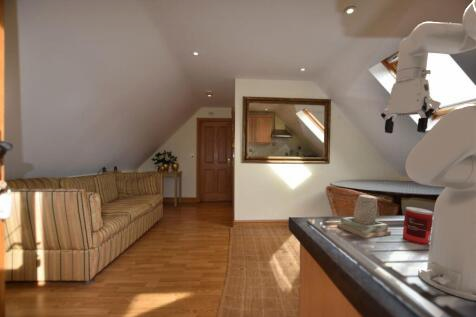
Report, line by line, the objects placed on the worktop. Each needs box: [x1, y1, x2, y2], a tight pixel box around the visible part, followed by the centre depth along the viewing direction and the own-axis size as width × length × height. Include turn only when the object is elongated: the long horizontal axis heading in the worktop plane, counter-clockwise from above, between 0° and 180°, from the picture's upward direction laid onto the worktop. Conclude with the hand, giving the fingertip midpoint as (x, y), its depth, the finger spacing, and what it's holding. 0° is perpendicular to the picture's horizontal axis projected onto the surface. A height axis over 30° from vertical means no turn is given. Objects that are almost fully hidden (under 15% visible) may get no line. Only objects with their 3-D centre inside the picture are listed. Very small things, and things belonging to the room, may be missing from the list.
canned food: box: [402, 206, 434, 246], centre depth 83 cm, size 8×8×11 cm
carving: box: [353, 194, 378, 225], centre depth 89 cm, size 6×8×12 cm
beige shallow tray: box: [336, 216, 392, 239], centre depth 90 cm, size 14×12×4 cm
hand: (404, 132), depth 75 cm, fingers open, 9 cm apart
